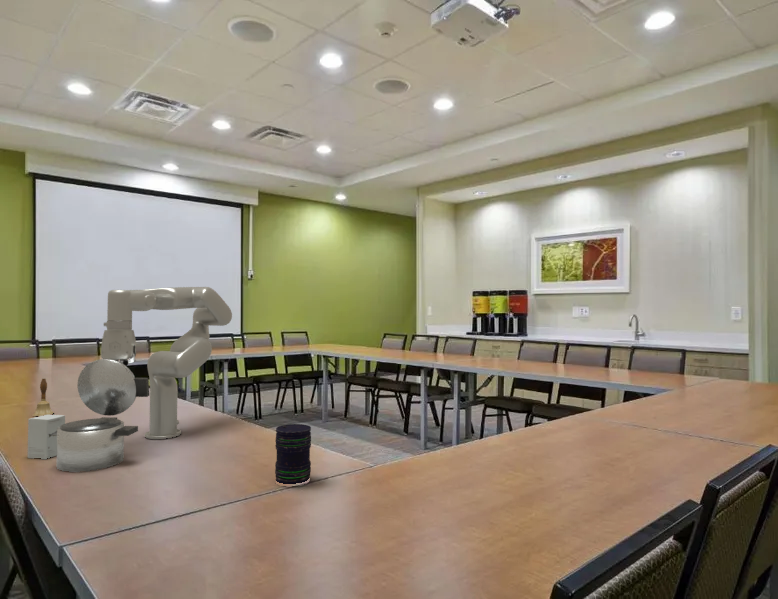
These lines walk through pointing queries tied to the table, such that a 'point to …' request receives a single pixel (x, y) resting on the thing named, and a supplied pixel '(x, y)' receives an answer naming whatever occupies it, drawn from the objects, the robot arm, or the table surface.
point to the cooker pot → (91, 444)
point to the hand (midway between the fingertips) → (118, 379)
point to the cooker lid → (110, 387)
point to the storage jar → (293, 453)
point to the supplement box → (43, 435)
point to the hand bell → (43, 402)
